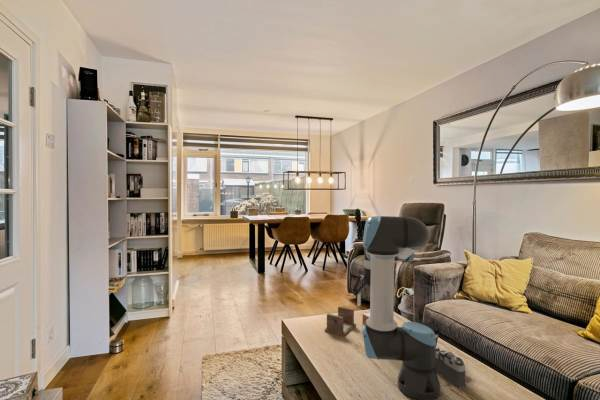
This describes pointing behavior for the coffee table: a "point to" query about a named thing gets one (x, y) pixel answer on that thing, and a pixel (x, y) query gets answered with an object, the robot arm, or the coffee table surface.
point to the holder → (341, 321)
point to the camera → (450, 367)
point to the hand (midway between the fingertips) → (371, 308)
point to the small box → (365, 318)
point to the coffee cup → (434, 328)
